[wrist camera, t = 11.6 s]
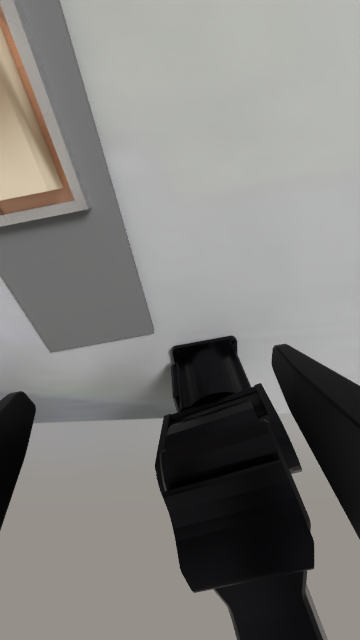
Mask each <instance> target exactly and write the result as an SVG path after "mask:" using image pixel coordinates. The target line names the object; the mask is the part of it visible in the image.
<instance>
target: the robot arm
mask: <svg viewBox="0 0 360 640" xmlns="http://www.w3.org/2000/svg"><path fill="white" fill-rule="evenodd" d="M232 340H233V341H232ZM230 341H232V342H230ZM177 350H179V351H178V352H176V351H177ZM172 352H173V357H174V361H175V364H173V365H172V366H171V375H172V389H173V399H174V402H175V406H176V409H177V412H178V413H175V414H172V415H171V414H168V415H165V416H164V420H163V425H162V430H161V435H160V440H159V445H158V451H157V457H156V462H155V470H156V473H157V474H156V476H157V480H158V484H159V488H160V491H161V493H162V496H163V498H164V501H165V504H166V506H167V509H168V511H169V515H170V518H171V522H172V526H173V530H174V535H175V540H176V546H177V552H178V558H179V564H180V569H181V572H182V574H183V576H184V577H185V579H186V581H187V583H188V585H189V586H190V588H191V590H192V591H193V592H194V593H196V592H201V591H206V590H211V589H213V590H214V591H215V592H216V593H217V595H218V596H219V597H220V598H221V599H222V601H223V602H224V603H225V604H226V605H227V607H228V609H229V612H230V616H231V619H232V622H233V626H234V629H235V633H236V636H237V640H327V637H326V634H325V632H324V629H323V626H322V624H321V621H320V618H319V616H318V613H317V611H316V608H315V605H314V603H313V600H312V598H311V595H310V592H309V590H308V587H307V585H306V577H307V570H311V569H314V541H313V538H312V535H311V533H310V528H311V524H310V519H309V516H308V514H307V511H306V510H305V507H304V504H303V502H302V499H301V497H300V495H299V492H298V490H297V487H296V485H295V483H294V480H293V478H292V475H291V474H292V473H297V472H301V471H302V468H301V465H300V463H299V460H298V458H297V455H296V453H295V451H294V448H293V446H292V443H291V441H290V439H289V437H288V435H287V432H286V430H285V428H284V426H283V424H282V422H281V420H280V418H279V416H278V414H277V412H276V411H275V409H274V407H273V405H272V403H271V401H270V399H269V397H268V396H267V394H266V392H265V390H264V388H263V386H262V384H261V383H259V384H256V385H255V386H254V387H251V386H250V383H249V381H248V379H247V376H246V374H245V372H244V369H243V367H242V365H241V362H240V360H239V358H238V355H237V340H236V338H235V337H234V336H228V337H223V338H217V339H212V340H206V341H201V342H195V343H190V344H184V345H179V346H175V347H173V349H172ZM272 368H273V370H274V373H275V375H276V378H277V380H278V383H279V385H280V388H281V390H282V393H283V395H284V397H285V400H286V402H287V405H288V407H289V409H290V411H291V413H292V415H293V417H294V419H295V421H296V422H297V424H298V426H299V428H300V430H301V432H302V433H303V435H304V437H305V439H306V441H307V443H308V444H309V447H310V448H311V450H312V452H313V454H314V456H315V457H316V459H317V461H318V463H319V465H320V467H321V469H322V471H323V472H324V474H325V476H326V478H327V480H328V482H329V483H330V485H331V487H332V489H333V491H334V493H335V495H336V496H337V498H338V500H339V502H340V504H341V506H342V507H343V509H344V511H345V513H346V515H347V516H348V519H349V520H350V522H351V524H352V526H353V528H354V530H355V531H356V533H357V535H358V537H359V539H360V386H359V385H357V384H356V383H354V382H352V381H350V380H349V379H347V378H345V377H343V376H342V375H340V374H338V373H336V372H335V371H333V370H331V369H329V368H328V367H326V366H324V365H322V364H321V363H319V362H317V361H315V360H314V359H312V358H310V357H308V356H307V355H305V354H303V353H301V352H300V351H298V350H296V349H294V348H293V347H291V346H289V345H287V344H281V345H275V346H274V347H273V353H272ZM35 412H36V407H35V404H34V403H33V402H32V401H31V400H30V398H29V397H28V396H27V395H26V394H25V393H24V392H21V391H20V392H14V393H10V394H8V395H7V396H6V397H4V398H3V399H2V400H1V401H0V530H1V527H2V524H3V521H4V518H5V515H6V512H7V509H8V506H9V503H10V500H11V497H12V494H13V491H14V488H15V485H16V482H17V479H18V476H19V473H20V470H21V467H22V464H23V461H24V457H25V454H26V450H27V446H28V442H29V438H30V434H31V429H32V425H33V421H34V416H35Z"/></svg>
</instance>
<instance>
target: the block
mask: <svg viewBox="0 0 360 640" xmlns="http://www.w3.org/2000/svg"><path fill="white" fill-rule="evenodd" d="M60 188H64V187H63V184H62V182H61V179H60V177H59V174H58V172H57V169H56V167H55V164H54V162H53V159H52V156H51V154H50V151H49V149H48V146H47V144H46V141H45V139H44V136H43V133H42V131H41V128H40V126H39V123H38V121H37V118H36V116H35V113H34V111H33V108H32V105H31V103H30V100H29V98H28V95H27V93H26V90H25V88H24V85H23V82H22V80H21V77H20V75H19V72H18V70H17V67H16V65H15V62H14V60H13V57H12V54H11V52H10V49H9V47H8V44H7V42H6V39H5V37H4V34H3V32H2V29H1V26H0V201H1V200H6V199H11V198H16V197H21V196H26V195H31V194H36V193H41V192H46V191H51V190H56V189H60Z"/></svg>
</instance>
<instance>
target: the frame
mask: <svg viewBox="0 0 360 640" xmlns="http://www.w3.org/2000/svg"><path fill="white" fill-rule="evenodd" d="M0 26H1V29H2V32H3V34H4V37H5V39H6V42H7V44H8V47H9V49H10V52H11V54H12V57H13V60H14V62H15V65H16V67H17V70H18V72H19V75H20V77H21V80H22V82H23V85H24V88H25V90H26V93H27V95H28V98H29V100H30V103H31V105H32V108H33V111H34V113H35V116H36V118H37V121H38V123H39V126H40V128H41V131H42V133H43V136H44V139H45V141H46V144H47V146H48V149H49V151H50V154H51V156H52V159H53V162H54V164H55V167H56V169H57V172H58V174H59V177H60V179H61V182H62V184H63V187H64V188H60V189H56V190H51V191H46V192H41V193H36V194H31V195H26V196H21V197H16V198H11V199H6V200H1V201H0V227H1V226H6V225H11V224H16V223H21V222H26V221H31V220H36V219H41V218H47V217H52V216H57V215H62V214H67V213H72V212H77V211H82V210H87V209H89V208H91V207H92V206H91V203H90V200H89V197H88V194H87V192H86V189H85V186H84V183H83V180H82V177H81V174H80V171H79V169H78V166H77V163H76V160H75V157H74V154H73V151H72V148H71V146H70V143H69V140H68V137H67V134H66V131H65V128H64V125H63V123H62V120H61V117H60V114H59V111H58V108H57V105H56V102H55V99H54V97H53V94H52V91H51V88H50V85H49V82H48V79H47V76H46V74H45V71H44V68H43V65H42V62H41V59H40V56H39V53H38V51H37V48H36V45H35V42H34V39H33V36H32V33H31V30H30V28H29V25H28V22H27V19H26V16H25V13H24V10H23V7H22V5H21V2H20V0H0Z"/></svg>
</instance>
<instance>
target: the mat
mask: <svg viewBox="0 0 360 640" xmlns="http://www.w3.org/2000/svg"><path fill="white" fill-rule="evenodd" d="M20 2H21V5H22V7H23V10H24V13H25V16H26V19H27V22H28V25H29V28H30V30H31V33H32V36H33V39H34V42H35V45H36V48H37V51H38V53H39V56H40V59H41V62H42V65H43V68H44V71H45V74H46V76H47V79H48V82H49V85H50V88H51V91H52V94H53V97H54V99H55V102H56V105H57V108H58V111H59V114H60V117H61V120H62V123H63V125H64V128H65V131H66V134H67V137H68V140H69V143H70V146H71V148H72V151H73V154H74V157H75V160H76V163H77V166H78V169H79V171H80V174H81V177H82V180H83V183H84V186H85V189H86V192H87V194H88V197H89V200H90V203H91V206H92V207H91V208H89V209H87V210H82V211H77V212H72V213H67V214H62V215H57V216H52V217H47V218H41V219H36V220H31V221H26V222H21V223H16V224H11V225H6V226H1V227H0V276H1V277H2V279H3V280H4V282H5V283H6V285H7V286H8V288H9V289H10V291H11V293H12V294H13V296H14V297H15V299H16V300H17V302H18V303H19V305H20V306H21V308H22V309H23V311H24V312H25V314H26V315H27V317H28V319H29V320H30V322H31V323H32V325H33V326H34V328H35V329H36V331H37V332H38V334H39V335H40V337H41V338H42V340H43V342H44V343H45V345H46V346H47V348H48V349H49V351H50V352H55V351H61V350H66V349H72V348H77V347H82V346H88V345H93V344H99V343H104V342H110V341H115V340H120V339H126V338H131V337H137V336H142V335H148V334H153V333H154V328H153V324H152V321H151V317H150V314H149V310H148V307H147V303H146V300H145V297H144V293H143V290H142V286H141V283H140V279H139V276H138V272H137V269H136V265H135V262H134V258H133V255H132V251H131V248H130V244H129V241H128V237H127V234H126V230H125V227H124V223H123V220H122V216H121V213H120V209H119V206H118V202H117V199H116V196H115V192H114V189H113V185H112V182H111V178H110V175H109V171H108V168H107V164H106V161H105V157H104V154H103V150H102V147H101V143H100V140H99V136H98V133H97V129H96V126H95V122H94V119H93V115H92V112H91V108H90V105H89V101H88V98H87V95H86V91H85V88H84V84H83V81H82V77H81V74H80V70H79V67H78V63H77V60H76V56H75V53H74V49H73V46H72V42H71V39H70V35H69V32H68V28H67V25H66V21H65V18H64V14H63V11H62V7H61V4H60V0H20Z"/></svg>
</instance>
